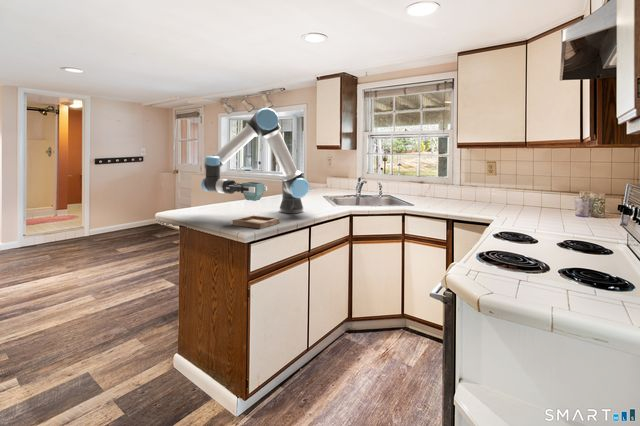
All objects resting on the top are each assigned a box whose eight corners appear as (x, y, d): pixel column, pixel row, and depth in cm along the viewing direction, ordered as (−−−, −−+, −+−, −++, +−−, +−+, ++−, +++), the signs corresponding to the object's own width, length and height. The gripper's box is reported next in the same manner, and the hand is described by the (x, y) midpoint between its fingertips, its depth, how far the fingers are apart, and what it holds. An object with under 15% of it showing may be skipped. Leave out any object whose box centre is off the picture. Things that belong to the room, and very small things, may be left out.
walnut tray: (253, 219, 192) (253, 215, 192) (279, 223, 185) (279, 218, 184) (232, 224, 177) (232, 220, 177) (260, 228, 170) (260, 223, 169)
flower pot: (265, 199, 184) (265, 182, 182) (257, 201, 175) (257, 183, 174) (250, 198, 186) (249, 181, 185) (241, 200, 178) (241, 183, 176)
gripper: (240, 191, 198) (273, 194, 188) (211, 195, 179) (246, 198, 169) (240, 178, 197) (273, 180, 187) (211, 180, 178) (246, 182, 168)
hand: (260, 189), depth 178 cm, fingers closed on flower pot, 9 cm apart
